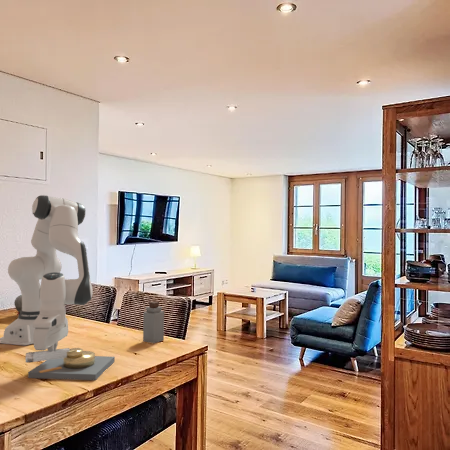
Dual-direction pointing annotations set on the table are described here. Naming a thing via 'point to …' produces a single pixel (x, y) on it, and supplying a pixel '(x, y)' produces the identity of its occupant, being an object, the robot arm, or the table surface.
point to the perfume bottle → (153, 323)
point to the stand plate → (71, 369)
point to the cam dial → (64, 357)
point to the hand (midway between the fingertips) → (52, 355)
